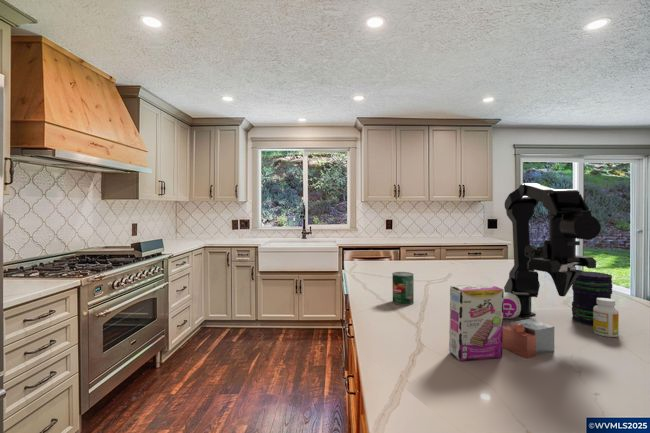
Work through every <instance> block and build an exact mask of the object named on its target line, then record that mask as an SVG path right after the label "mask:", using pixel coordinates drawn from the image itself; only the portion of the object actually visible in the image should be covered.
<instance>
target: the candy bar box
mask: <svg viewBox="0 0 650 433" xmlns="http://www.w3.org/2000/svg"><path fill="white" fill-rule="evenodd" d="M449 289H450V290H449V291H450V294H449V339H448V340H449V345H448V346H449V348H448V353H449V354H450V355H452V356H453V357H454V358H456V360H458V361H459V362H460V361H461V362H462V361H463V362H464V361H472V360H473V361H475V360H486V359H502V358H503V348H502V339H503V327H504V318H503V295H504V292H505V291H504V288H501V287H498V286H495V285H493V284H492V285H491V284H480V285H479V284H476V285H475V284H473V285H450V288H449Z"/></svg>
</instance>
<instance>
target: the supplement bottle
mask: <svg viewBox="0 0 650 433" xmlns="http://www.w3.org/2000/svg"><path fill="white" fill-rule="evenodd" d="M597 304H598V305H596V306H594V308H593V326H592V327H593V329H592V330H593V333H595V334H597V335H599V336H602V337H609V338H616V337H619V318H620V317H619V314H620V313H619V310H618V308H617V307H615V306H616V300H615V299H613V298H611V299H608V298H597Z"/></svg>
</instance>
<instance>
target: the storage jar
mask: <svg viewBox="0 0 650 433" xmlns="http://www.w3.org/2000/svg"><path fill="white" fill-rule="evenodd" d="M612 279H613V275H612V274H609V273H605V272H604V273H603V272H596V271H585V270H582V273H580V274H579V275H578V277H577V278H576V280H575V281H574V283H573V284H572V286H571V290H572V302H571V312H572V313H571V314H572V316H571V317H572V318H571V319H572V320H573V321H574V322H575V323H579V324H581V325H586V326H589V327H590V326H591V327H593V308H594V306H596V305H598V304H597V298H608V299H612V295H613V280H612Z"/></svg>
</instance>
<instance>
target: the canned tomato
mask: <svg viewBox="0 0 650 433" xmlns="http://www.w3.org/2000/svg"><path fill="white" fill-rule="evenodd" d="M414 275H415V274H414V273H412V272H410V271H409V272H407V271H394V272H392V278H391V279H392V287H391V288H392V303H393V304H394V305H398V306H399V305H400V306H412V305H414V294H415V293H414V291H415V290H414V284H415V283H414V282H415V281H414Z"/></svg>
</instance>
